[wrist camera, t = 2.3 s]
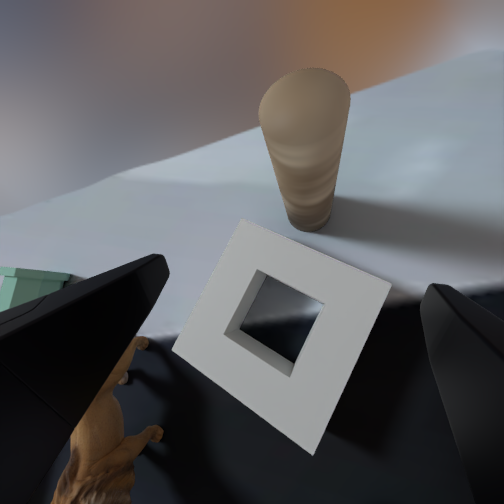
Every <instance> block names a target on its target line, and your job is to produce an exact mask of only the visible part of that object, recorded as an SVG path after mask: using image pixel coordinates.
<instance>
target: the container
mask: <svg viewBox="0 0 504 504" xmlns="http://www.w3.org/2000/svg"><path fill="white" fill-rule="evenodd" d="M0 275H4V276H5V277H4V280H3V284H2V287H1V291H0V312H1V311H4V310H7V309H10V308H13V307H15V306H18V305H21V304H23V303H26V302H29V301H31V300H34V299H37V298H39V297H42V296H44V295H47V294H48V295H49V294H50V293H52V292H55V291H57V290H60V289H62V288H63V284H64V281H68V280H69V276H70V274H68V273H59V272H50V271H41V270H31V269H21V268H10V267H1V268H0Z"/></svg>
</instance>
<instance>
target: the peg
mask: <svg viewBox="0 0 504 504" xmlns="http://www.w3.org/2000/svg"><path fill="white" fill-rule="evenodd" d="M349 107H350V92H349V89H348V86H347V84H346V83H345V81H344V80H343V79H342V78H341V77H340V76H338V75H337V74H335V73H333V72H332V71H328V70H326V69H320V68H307V69H301V70H297V71H294V72H292V73H289V74H287V75H285V76H284V77H282V78H281V79H279V80H278V81H276V82H275V83H274V84H273V85H272V86H271V87H270V88H269V89H268V91H267V92H266V93H265V95H264V97H263V99H262V101H261V104H260V108H259V121H260V125H261V128H262V131H263V135H264V138H265V141H266V145H267V148H268V151H269V155H270V158H271V162H272V165H273V168H274V172H275V175H276V178H277V182H278V185H279V189H280V192H281V195H282V199H283V202H284V205H285V209H286V212H287V215H288V219H289V221H290V223H291V224H292V225H293V226H294V227H295V228H296V229H298V230H300V231H304V232H312V231H316V230H318V229H320V228H322V227H323V226H324V225H325V224H326V223H327V221H328V220H329V217H330V214H331V208H332V202H333V197H334V191H335V186H336V180H337V174H338V169H339V163H340V158H341V152H342V146H343V141H344V135H345V130H346V124H347V119H348V113H349Z"/></svg>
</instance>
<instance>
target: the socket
mask: <svg viewBox="0 0 504 504" xmlns="http://www.w3.org/2000/svg"><path fill="white" fill-rule="evenodd" d="M267 275H268V276H270V277H271V278H273V279H275V280H277V281H279V282H281V283H283V284H285V285H287V286H289V287H291V288H293V289H295V290H297V291H299V292H301V293H303V294H305V295H307V296H308V297H310V298H312V299H314V300H316V301H318V302H320V303H322V304H323V306H322V308H321V310H320V312H319V314H318V316H317V318H316V320H315V323H314V325H313V327H312V329H311V331H310V333H309V335H308V337H307V339H306V341H305V343H304V345H303V347H302V349H301V351H300V354H299V356H298V358H297V360H296V362H295V364H294V363H292V362H291V361H289V360H287V359H286V358H284V357H283V356H281V355H279V354H278V353H276V352H275V351H273V350H271V349H270V348H268V347H267V346H265V345H263V344H262V343H260V342H259V341H257V340H255V339H254V338H252V337H251V336H249V335H248V334H246V333H244V332H243V331H241V330H240V327H241V325H242V323H243V321H244V319H245V317H246V315H247V313H248V311H249V309H250V307H251V305H252V303H253V301H254V299H255V297H256V296H257V294H258V292H259V290H260V288H261V286H262V284H263V282H264V280H265V278H266V276H267ZM391 286H392V284H391V283H389V282H386V281H384V280H382V279H380V278H377V277H375V276H373V275H370V274H368V273H366V272H364V271H361V270H359V269H357V268H355V267H352V266H350V265H348V264H345V263H343V262H341V261H339V260H336V259H334V258H332V257H329V256H327V255H325V254H323V253H320V252H318V251H316V250H314V249H311V248H309V247H307V246H304V245H302V244H300V243H298V242H295V241H293V240H291V239H289V238H286V237H284V236H282V235H279V234H277V233H275V232H273V231H270V230H268V229H266V228H263V227H261V226H259V225H257V224H254V223H252V222H250V221H248V220H245V219H243V218H241V220H240V222H239V224H238V226H237V228H236V230H235V232H234V233H233V235H232V237H231V239H230V241H229V243H228V245H227V247H226V248H225V250H224V252H223V254H222V256H221V258H220V260H219V262H218V264H217V265H216V267H215V269H214V271H213V273H212V275H211V277H210V279H209V280H208V282H207V284H206V286H205V288H204V290H203V292H202V294H201V295H200V297H199V299H198V301H197V303H196V305H195V307H194V309H193V310H192V312H191V314H190V316H189V318H188V320H187V322H186V324H185V325H184V327H183V329H182V331H181V333H180V335H179V337H178V339H177V340H176V342H175V344H174V346H173V348H172V351H174V352H175V353H176V354H178V355H179V356H180V357H182V358H183V359H184V360H186V361H187V362H188V363H190V364H191V365H192V366H194V367H195V368H196V369H198V370H199V371H200V372H202V373H203V374H204V375H206V376H207V377H208V378H210V379H211V380H212V381H214V382H215V383H216V384H218V385H219V386H221V387H222V388H223V389H225V390H226V391H227V392H229V393H230V394H231V395H233V396H234V397H235V398H237V399H238V400H239V401H241V402H242V403H243V404H245V405H246V406H247V407H249V408H250V409H251V410H253V411H254V412H255V413H257V414H258V415H259V416H261V417H262V418H263V419H265V420H266V421H267V422H269V423H270V424H271V425H273V426H274V427H275V428H277V429H278V430H279V431H281V432H282V433H283V434H285V435H286V436H287V437H289V438H290V439H291V440H293V441H294V442H295V443H297V444H298V445H299V446H301V447H302V448H303V449H305V450H306V451H307V452H309V453H310V454H311V455H314V452H315V450H316V448H317V446H318V444H319V442H320V439H321V437H322V435H323V433H324V431H325V429H326V426H327V424H328V422H329V420H330V418H331V416H332V413H333V411H334V409H335V407H336V405H337V403H338V400H339V398H340V396H341V394H342V392H343V390H344V387H345V385H346V383H347V381H348V379H349V377H350V374H351V372H352V370H353V368H354V366H355V364H356V361H357V359H358V357H359V355H360V353H361V351H362V348H363V346H364V344H365V342H366V340H367V338H368V335H369V333H370V331H371V329H372V327H373V325H374V322H375V320H376V318H377V316H378V314H379V312H380V310H381V307H382V305H383V303H384V301H385V299H386V297H387V294H388V292H389V290H390V288H391Z"/></svg>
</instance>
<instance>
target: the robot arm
mask: <svg viewBox="0 0 504 504" xmlns="http://www.w3.org/2000/svg"><path fill="white" fill-rule="evenodd" d="M169 274H170V272H169V268H168V265H167V262H166V259H165V257H164V256H163V255H161V254H151V255H148V256H145V257H143V258H140V259H138V260H135V261H132V262H130V263H127V264H125V265H122V266H120V267H117V268H114V269H112V270H109V271H107V272H104V273H101V274H99V275H96V276H94V277H91V278H89V279H86V280H83V281H81V282H78V283H76V284H73V285H70V286H68V287H65V288H63V289H60V290H57V291H55V292H52V293H50V294H49V295H48V294H47V295H44V296H42V297H39V298H37V299H34V300H31V301H29V302H26V303H23V304H21V305H18V306H15V307H13V308H10V309H7V310H4V311H1V312H0V504H27V502H28V501H29V499H30V498H31V496H32V495H33V493H34V492H35V490H36V489H37V487H38V485H39V484H40V482H41V481H42V479H43V478H44V476H45V475H46V473H47V471H48V470H49V468H50V467H51V465H52V464H53V462H54V461H55V459H56V458H57V456H58V454H59V453H60V451H61V450H62V448H63V447H64V445H65V444H66V442H67V441H68V439H69V437H70V436H71V434H72V433H73V431H74V428H76V426H77V425H78V423H79V422H80V420H81V419H82V417H83V415H84V414H85V412H86V411H87V409H88V408H89V406H90V405H91V403H92V402H93V400H94V398H95V397H96V395H97V394H98V392H99V391H100V389H101V388H102V386H103V385H104V383H105V381H106V380H107V378H108V377H109V375H110V374H111V372H112V371H113V369H114V368H115V366H116V364H117V363H118V361H119V360H120V358H121V357H122V355H123V354H124V352H125V351H126V349H127V347H128V346H129V344H130V343H131V341H132V340H133V338H134V337H135V335H136V334H137V332H138V330H139V329H140V327H141V326H142V324H143V323H144V321H145V320H146V318H147V317H148V315H149V313H150V312H151V310H152V308H153V307H154V305H155V303H156V301H157V299H158V297H159V295H160V293H161V291H162V289H163V287H164V285H165V284H166V282H167V280H168V278H169ZM420 313H421V318H422V324H423V329H424V334H425V340H426V345H427V350H428V355H429V359H430V363H431V366H432V370H433V373H434V376H435V379H436V382H437V385H438V388H439V391H440V395H441V398H442V401H443V404H444V407H445V410H446V413H447V416H448V419H449V422H450V426H451V429H452V432H453V435H454V438H455V441H456V444H457V447H458V450H459V453H460V457H461V460H462V463H463V466H464V469H465V472H466V475H467V478H468V481H469V484H470V488H471V491H472V494H473V497H474V500H475V503H476V504H504V321H502V320H501V319H499V318H498V317H496V316H495V315H493V314H492V313H490V312H489V311H487V310H486V309H484V308H483V307H481V306H480V305H478V304H477V303H475V302H474V301H472V300H471V299H469V298H468V297H466V296H465V295H463V294H462V293H460V292H458V291H457V290H455V289H454V288H452V287H451V286H449V285H445V284H436V283H432V284H430V285H429V286H428V288H427V290H426V293H425V295H424V297H423V300H422V302H421V305H420Z"/></svg>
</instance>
